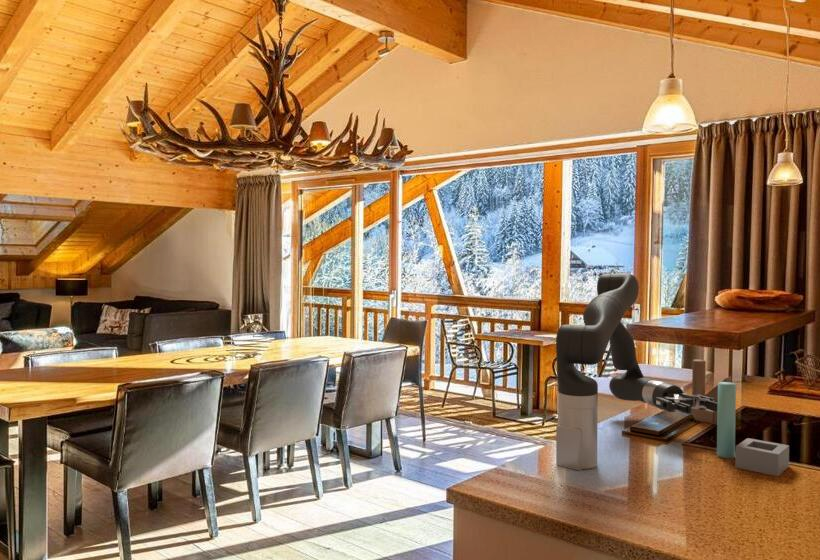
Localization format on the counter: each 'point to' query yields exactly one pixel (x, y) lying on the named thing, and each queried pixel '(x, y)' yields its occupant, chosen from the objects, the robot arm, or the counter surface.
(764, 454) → the socket block
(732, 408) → the peg
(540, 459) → the counter surface
